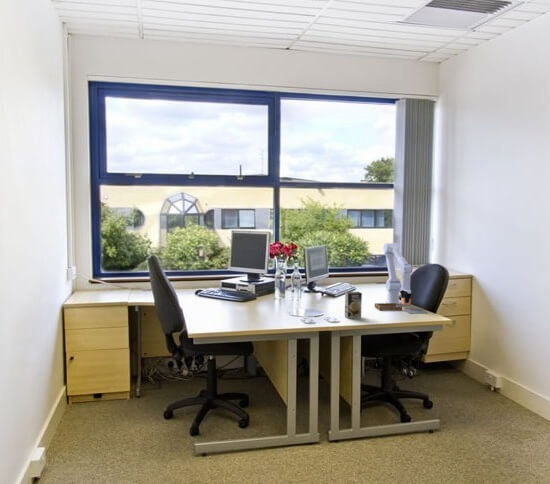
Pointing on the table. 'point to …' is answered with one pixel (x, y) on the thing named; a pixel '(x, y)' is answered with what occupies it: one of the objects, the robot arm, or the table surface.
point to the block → (404, 301)
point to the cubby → (387, 306)
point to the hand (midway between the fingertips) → (405, 301)
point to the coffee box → (353, 304)
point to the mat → (414, 311)
